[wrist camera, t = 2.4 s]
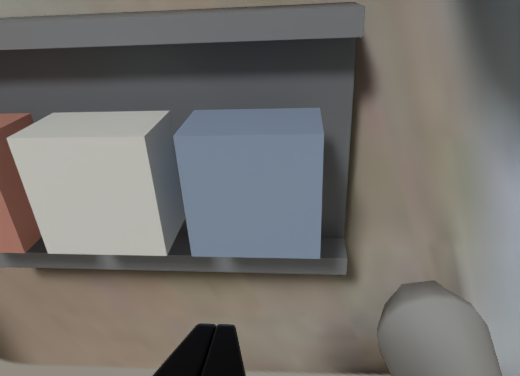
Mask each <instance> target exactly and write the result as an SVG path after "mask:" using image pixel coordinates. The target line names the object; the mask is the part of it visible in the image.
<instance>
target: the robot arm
mask: <svg viewBox="0 0 520 376" xmlns="http://www.w3.org/2000/svg"><path fill="white" fill-rule="evenodd" d="M153 376H246V375H245V370H244V365H243V360H242V356H241V351H240V346H239V341H238V337H237V332H236V328H235V326H234V325H228V324H219V325H217V326H216V325H215V324H198V325H196V326H195V327H194V328H193V330H192V331H191V332H190V333H189V334H188V335H187V337H186V338H185V339H184V340H183V341H182V342H181V343H180V345H179V346H178V347H177V348H176V349H175V350H174V352H173V353H172V354H171V355H170V356H169V357H168V358H167V360H166V361H165V362H164V363H163V364H162V365H161V367H160V368H159V369H158V370H157V371H156V372H155V374H154V375H153Z"/></svg>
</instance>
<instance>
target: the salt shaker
mask: <svg viewBox="0 0 520 376" xmlns="http://www.w3.org/2000/svg"><path fill="white" fill-rule="evenodd" d="M377 337H378V342H379V348H380V352H381V355H382V357H383V359H384V361H385V363H386V365H387V367H388V370H389V372H390V374H391V376H502V373H501V370H500V366H499V363H498V359H497V356H496V353H495V349H494V346H493V342H492V339H491V336H490V332H489V329H488V326H487V324H486V323H485V321H484V320H483V319H482V318H481V316H480V315H479V314H478V312H477V311H476V310H475V308H474V307H473V306H472V304H471V303H469V302H467V301H466V300H464V299H462V298H460V297H459V296H457V295H455V294H453V293H452V292H450V291H448V290H446V289H445V288H443V287H442V286H441V285H440V284H438V283H437V282H436V281H427V282H418V283H410V284H402V285H401V286H400V288H399V289H398V290H397V291H396V292H395V293H394V294H393V296H392V297H391V298H390V299H389V300H388V301H387V302H386V304H385V305H384V309H383V312H382V315H381V318H380V321H379V324H378V327H377Z"/></svg>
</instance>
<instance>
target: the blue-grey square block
mask: <svg viewBox="0 0 520 376" xmlns="http://www.w3.org/2000/svg"><path fill="white" fill-rule="evenodd" d="M173 139H174V145H175V152H176V158H177V165H178V171H179V178H180V184H181V191H182V197H183V204H184V210H185V216H186V223H187V229H188V236H189V242H190V249H191V255H192V256H195V257H247V258H299V259H320V248H321V216H322V184H323V152H324V131H323V124H322V118H321V111H320V108H276V109H223V110H194V111H193V112H192V113H191V115H190V116H189V117H188V118H187V119H186V121H185V122H184V123H183V124H182V126H181V127H180V128H179V129H178V131H177V132H176V133H175V134H174V136H173Z"/></svg>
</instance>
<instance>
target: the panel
mask: <svg viewBox="0 0 520 376" xmlns="http://www.w3.org/2000/svg"><path fill="white" fill-rule="evenodd" d="M364 17H365V6H362V5H360V4H357V3H355V2H346V3H324V4H301V5H279V6H256V7H234V8H212V9H189V10H167V11H144V12H122V13H100V14H77V15H55V16H32V17H10V18H0V114H8V113H31V115H32V118H33V121H34V123H35V122H37V121H39V120H41V119H42V118H44V117H46V116H48V115H50V114H52V113H62V112H115V111H169V110H170V114H171V121H172V127H173V134H175V133H176V132H177V131H178V129H179V128H180V127H181V126H182V124H183V123H184V122H185V121H186V119H187V118H188V117H189V116H190V115H191V113H192V112H193V111H194V110H223V109H276V108H320V111H321V118H322V124H323V131H324V152H323V184H322V216H321V248H320V259H299V258H247V257H195V256H192V255H191V249H190V242H189V236H188V229H187V223H186V217H185V220H184V222H183V224H182V226H181V228H180V230H179V232H178V234H177V236H176V238H175V240H174V242H173V244H172V247H171V249H170V251H169V253H168V255H167V256H143V255H90V254H48V252H47V250H46V247H45V244H44V241H43V238H42V237H41V238H40V239H39V240H38V241H37V242H36V243H35V244H34V245H33V246H32V247H31V248H30V249H29V250H28V251H27V252H26V253H0V267H24V268H67V269H111V270H154V271H198V272H241V273H285V274H328V275H346V271H347V253H346V247H345V241H344V229H345V214H346V198H347V182H348V167H349V151H350V135H351V120H352V104H353V88H354V73H355V57H356V41H357V37H363V31H364Z"/></svg>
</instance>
